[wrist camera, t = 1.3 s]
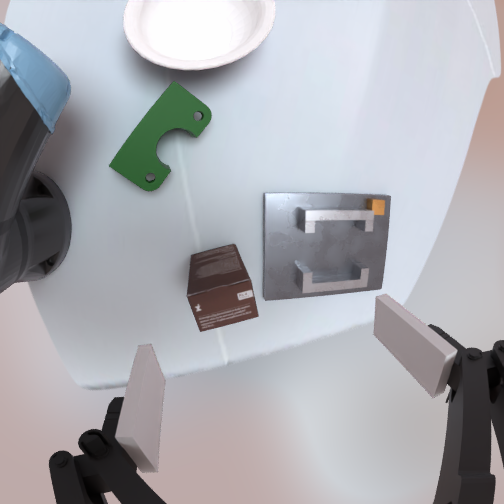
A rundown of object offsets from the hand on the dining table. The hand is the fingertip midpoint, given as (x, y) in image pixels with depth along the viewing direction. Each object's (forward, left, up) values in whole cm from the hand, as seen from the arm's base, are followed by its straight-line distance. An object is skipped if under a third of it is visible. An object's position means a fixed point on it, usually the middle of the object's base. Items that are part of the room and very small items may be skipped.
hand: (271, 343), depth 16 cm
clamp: (-8, +13, -23) cm, 28 cm away
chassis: (+13, -1, -23) cm, 26 cm away
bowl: (-4, +27, -23) cm, 36 cm away
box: (-2, -3, -23) cm, 23 cm away
